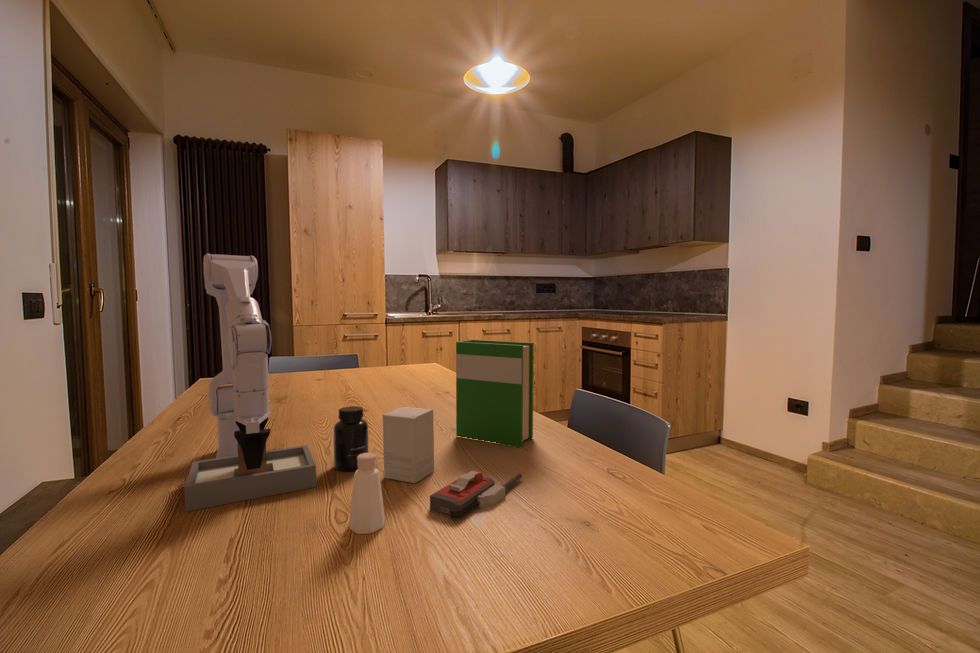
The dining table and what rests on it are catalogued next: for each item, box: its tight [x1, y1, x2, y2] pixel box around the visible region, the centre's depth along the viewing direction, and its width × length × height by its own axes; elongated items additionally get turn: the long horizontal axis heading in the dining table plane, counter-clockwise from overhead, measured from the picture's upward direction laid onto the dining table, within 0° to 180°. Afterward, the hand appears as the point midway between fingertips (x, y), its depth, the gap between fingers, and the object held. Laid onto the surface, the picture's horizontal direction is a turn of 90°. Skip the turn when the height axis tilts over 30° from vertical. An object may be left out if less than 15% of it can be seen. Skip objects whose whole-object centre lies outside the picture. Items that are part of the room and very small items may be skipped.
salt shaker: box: [348, 452, 386, 535], centre depth 68 cm, size 5×5×11 cm
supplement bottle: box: [333, 405, 369, 472], centre depth 92 cm, size 7×7×12 cm
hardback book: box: [455, 339, 535, 448], centre depth 110 cm, size 18×7×24 cm, turn 63°
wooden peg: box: [237, 441, 267, 476], centre depth 82 cm, size 4×4×9 cm
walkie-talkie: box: [429, 469, 523, 520], centre depth 78 cm, size 9×4×20 cm
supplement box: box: [382, 406, 435, 484], centre depth 87 cm, size 7×7×13 cm
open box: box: [184, 444, 317, 512], centre depth 82 cm, size 13×20×4 cm, turn 119°
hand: (253, 461), depth 82 cm, fingers open, 7 cm apart
